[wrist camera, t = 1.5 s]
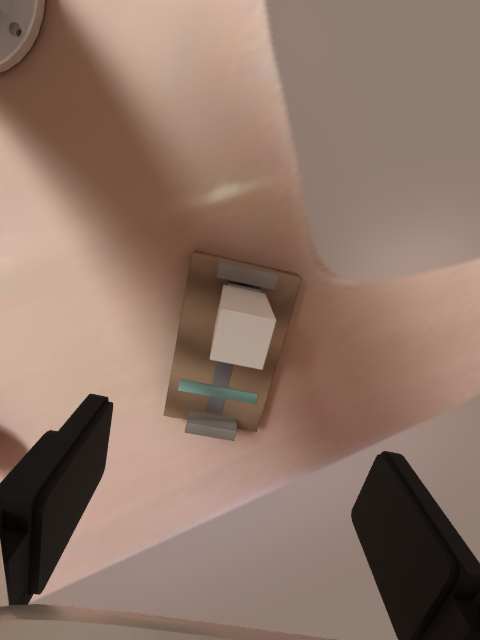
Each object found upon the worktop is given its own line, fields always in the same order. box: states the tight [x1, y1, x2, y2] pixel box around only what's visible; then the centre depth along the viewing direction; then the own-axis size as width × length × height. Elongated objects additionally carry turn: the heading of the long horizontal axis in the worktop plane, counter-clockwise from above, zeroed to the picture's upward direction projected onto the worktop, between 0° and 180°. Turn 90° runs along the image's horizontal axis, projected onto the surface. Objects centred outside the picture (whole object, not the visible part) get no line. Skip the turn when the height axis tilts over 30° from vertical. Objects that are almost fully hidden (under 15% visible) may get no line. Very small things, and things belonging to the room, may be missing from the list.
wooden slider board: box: [164, 251, 302, 441], centre depth 30 cm, size 17×10×4 cm, turn 167°
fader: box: [210, 280, 276, 370], centre depth 24 cm, size 4×4×9 cm
